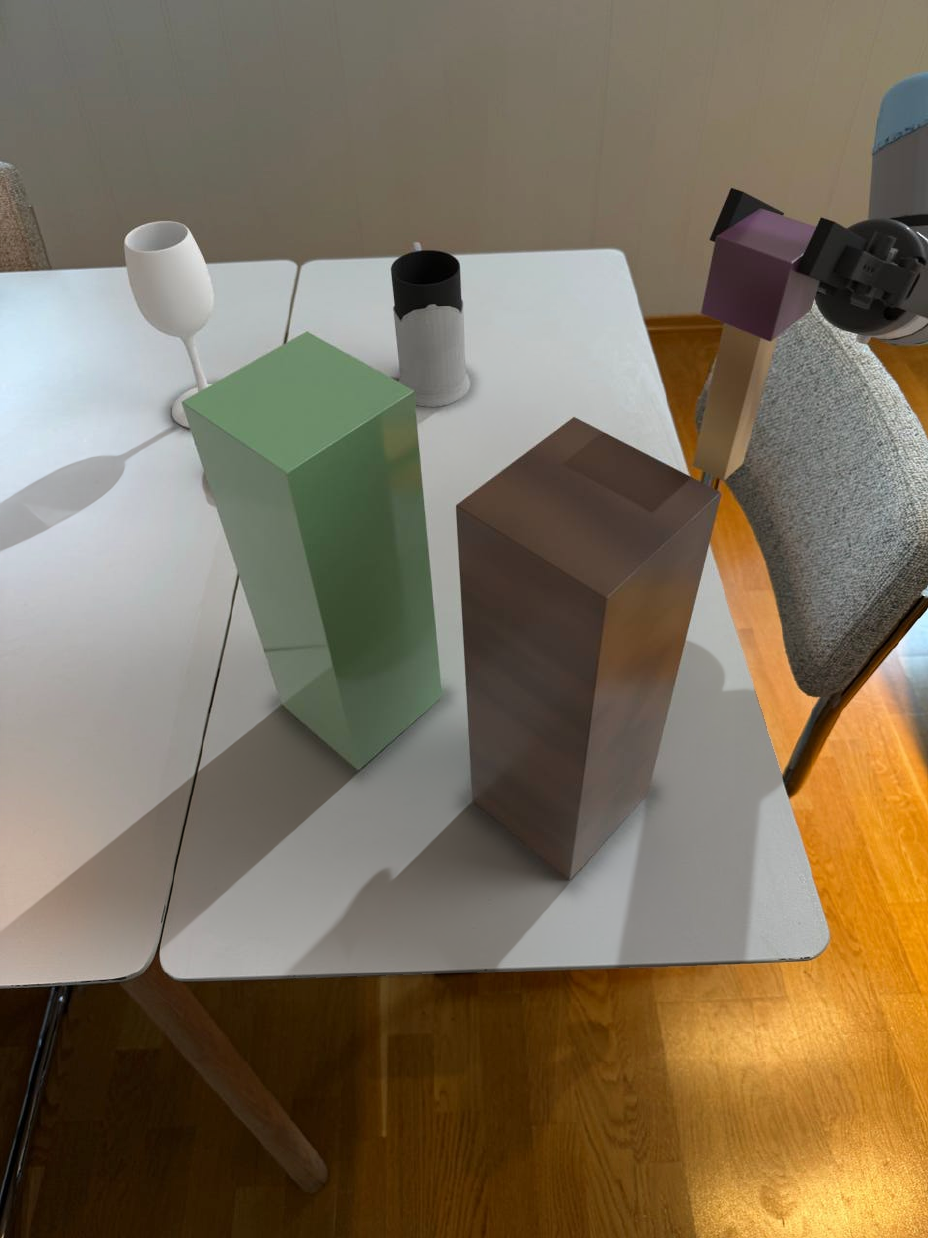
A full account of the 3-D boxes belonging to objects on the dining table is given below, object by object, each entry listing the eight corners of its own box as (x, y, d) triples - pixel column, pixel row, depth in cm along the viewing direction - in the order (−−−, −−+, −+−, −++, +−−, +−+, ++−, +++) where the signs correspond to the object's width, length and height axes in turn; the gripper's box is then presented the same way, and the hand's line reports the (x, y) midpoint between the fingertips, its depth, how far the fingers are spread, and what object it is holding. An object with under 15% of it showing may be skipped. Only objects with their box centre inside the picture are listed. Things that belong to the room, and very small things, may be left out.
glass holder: (402, 411, 105) (389, 292, 94) (388, 343, 114) (375, 228, 103) (475, 401, 106) (472, 282, 94) (456, 335, 115) (451, 220, 103)
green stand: (358, 771, 74) (286, 473, 50) (281, 704, 79) (180, 401, 54) (442, 697, 79) (414, 390, 54) (365, 638, 83) (306, 330, 59)
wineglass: (189, 382, 110) (135, 213, 94) (256, 388, 109) (213, 218, 93) (160, 426, 105) (97, 254, 89) (229, 433, 103) (179, 260, 87)
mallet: (792, 263, 45) (835, 232, 48) (715, 235, 48) (760, 207, 50) (728, 496, 57) (765, 463, 59) (669, 466, 59) (707, 435, 61)
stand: (569, 881, 67) (606, 598, 43) (471, 801, 72) (455, 504, 47) (648, 793, 72) (722, 492, 47) (551, 723, 76) (573, 415, 52)
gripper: (971, 378, 63) (891, 363, 44) (750, 292, 71) (606, 251, 52) (1034, 268, 59) (976, 205, 41) (795, 192, 67) (658, 111, 49)
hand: (769, 231), depth 47 cm, fingers closed on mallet, 5 cm apart
